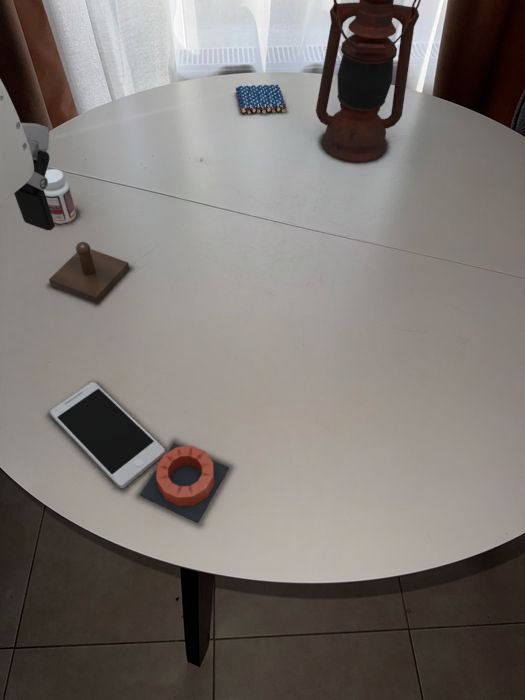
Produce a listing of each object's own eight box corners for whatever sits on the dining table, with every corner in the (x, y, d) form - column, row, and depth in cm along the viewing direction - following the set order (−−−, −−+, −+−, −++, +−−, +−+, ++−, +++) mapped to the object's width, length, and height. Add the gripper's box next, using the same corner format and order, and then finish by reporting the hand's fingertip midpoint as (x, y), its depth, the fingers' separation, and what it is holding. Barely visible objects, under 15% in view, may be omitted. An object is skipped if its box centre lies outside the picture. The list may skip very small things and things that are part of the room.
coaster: (197, 523, 68) (197, 521, 68) (139, 495, 70) (139, 494, 70) (229, 468, 73) (228, 466, 73) (173, 443, 75) (173, 442, 75)
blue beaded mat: (287, 113, 130) (287, 104, 128) (240, 115, 129) (240, 106, 127) (279, 91, 136) (280, 82, 135) (235, 93, 135) (234, 84, 134)
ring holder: (97, 304, 91) (88, 270, 85) (51, 286, 93) (38, 252, 87) (129, 269, 96) (122, 235, 90) (84, 253, 98) (75, 218, 93)
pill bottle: (68, 204, 107) (57, 164, 100) (81, 217, 104) (70, 177, 98) (44, 214, 105) (31, 174, 98) (57, 227, 102) (44, 187, 96)
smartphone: (121, 490, 70) (120, 486, 70) (50, 415, 77) (48, 410, 76) (166, 453, 74) (166, 449, 73) (94, 384, 80) (93, 380, 80)
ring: (197, 515, 68) (195, 506, 67) (147, 492, 70) (145, 482, 68) (223, 468, 72) (223, 459, 71) (176, 447, 74) (174, 438, 72)
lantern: (392, 129, 126) (425, -27, 103) (397, 165, 117) (435, 2, 94) (312, 125, 127) (327, -32, 104) (312, 160, 118) (328, -3, 95)
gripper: (-27, 7, 45) (34, 193, 58) (-232, 104, 35) (-102, 303, 48) (51, 26, 43) (96, 214, 56) (-142, 135, 33) (-33, 333, 46)
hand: (5, 255), depth 52 cm, fingers open, 9 cm apart
